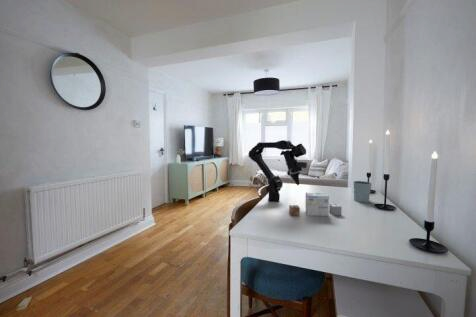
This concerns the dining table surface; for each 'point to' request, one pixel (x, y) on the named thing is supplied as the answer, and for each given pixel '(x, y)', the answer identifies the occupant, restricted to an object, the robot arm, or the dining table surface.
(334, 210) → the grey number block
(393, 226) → the dining table surface
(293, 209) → the brown bevelled block
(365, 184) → the grey green container
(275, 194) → the robot arm
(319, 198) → the light bulb box
